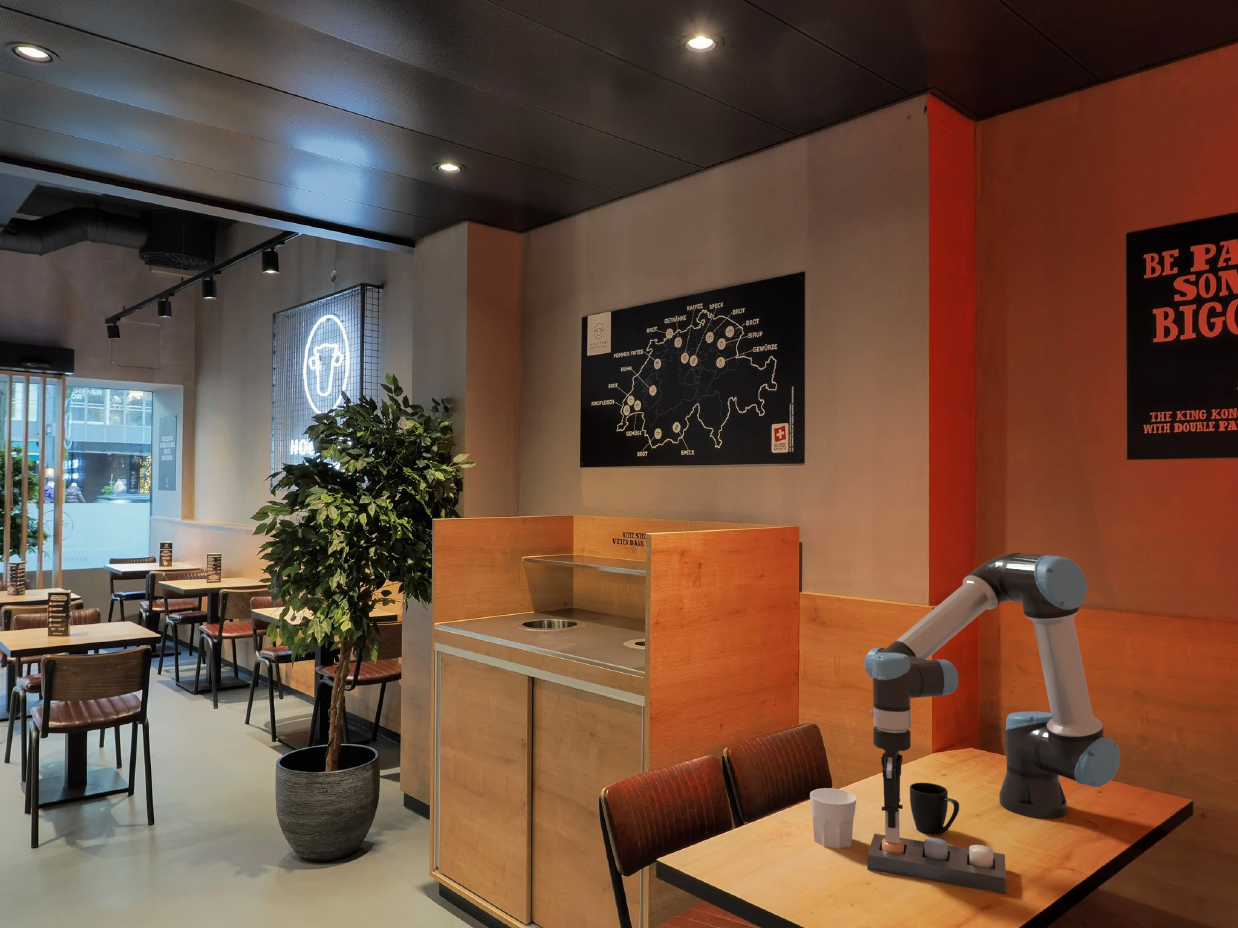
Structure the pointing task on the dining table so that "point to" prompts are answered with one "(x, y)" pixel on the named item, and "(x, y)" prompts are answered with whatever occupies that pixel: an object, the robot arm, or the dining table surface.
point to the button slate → (936, 849)
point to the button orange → (893, 847)
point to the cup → (833, 816)
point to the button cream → (981, 856)
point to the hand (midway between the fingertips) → (892, 840)
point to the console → (937, 865)
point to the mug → (931, 808)
